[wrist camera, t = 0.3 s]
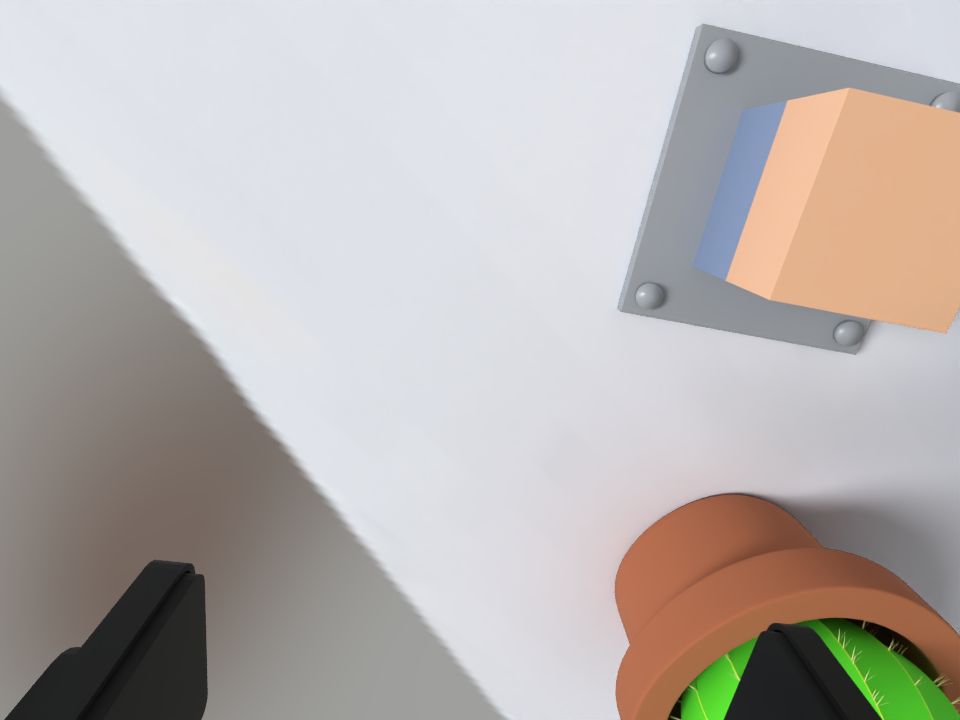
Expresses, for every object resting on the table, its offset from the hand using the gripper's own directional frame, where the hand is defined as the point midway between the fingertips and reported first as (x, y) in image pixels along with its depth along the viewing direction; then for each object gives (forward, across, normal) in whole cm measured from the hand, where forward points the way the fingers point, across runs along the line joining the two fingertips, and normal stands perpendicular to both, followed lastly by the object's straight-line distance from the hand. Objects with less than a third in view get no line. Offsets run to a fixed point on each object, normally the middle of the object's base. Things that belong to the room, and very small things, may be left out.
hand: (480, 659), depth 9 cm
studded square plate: (+31, -20, -8) cm, 38 cm away
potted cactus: (+31, -25, +23) cm, 46 cm away
